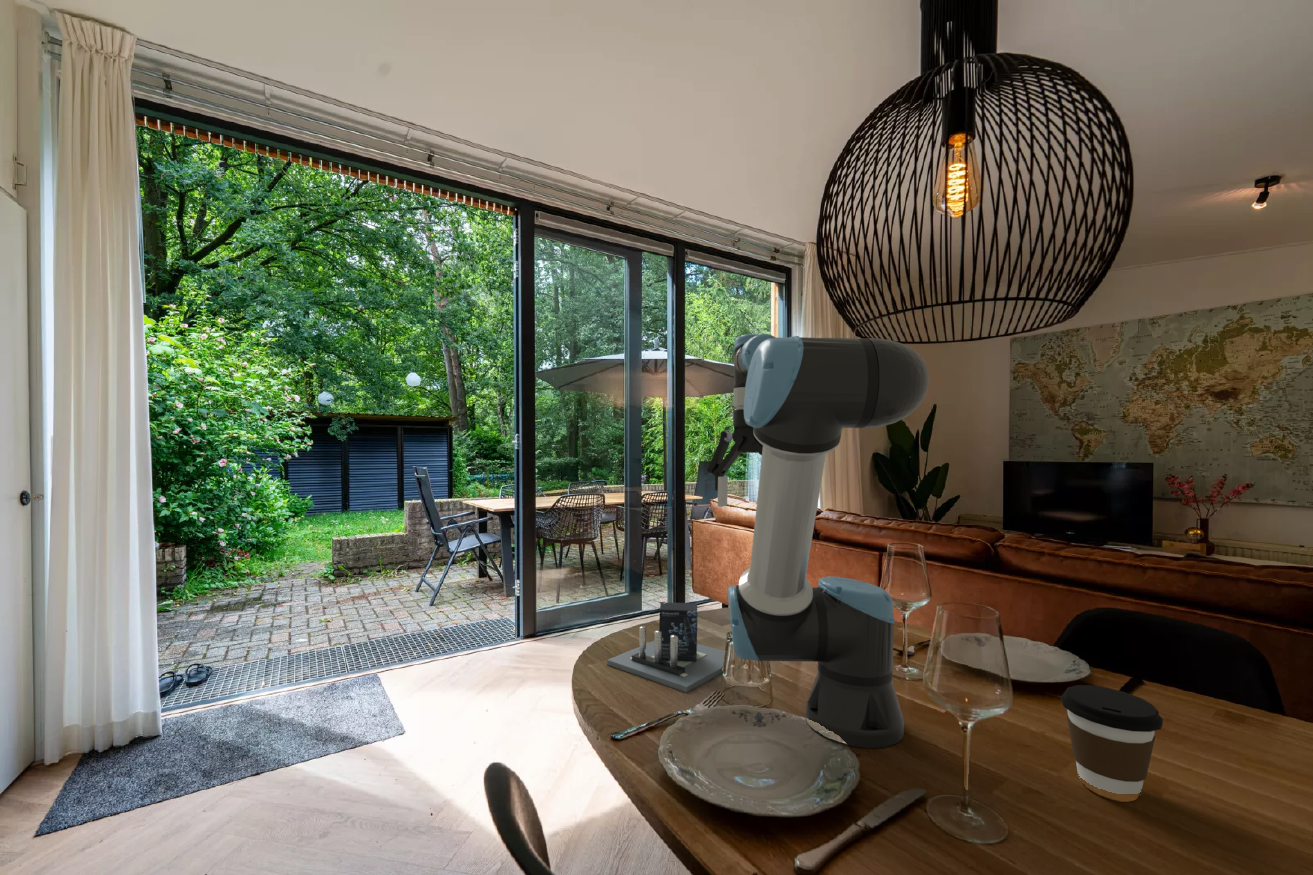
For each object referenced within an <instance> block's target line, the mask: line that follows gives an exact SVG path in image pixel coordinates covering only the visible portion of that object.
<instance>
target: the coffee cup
mask: <svg viewBox="0 0 1313 875" xmlns="http://www.w3.org/2000/svg"><path fill="white" fill-rule="evenodd" d="M1060 702H1061V704H1062V706H1063V708H1065V709H1066V711H1067V715H1066V716H1067V717H1066V719H1067V725H1068V732H1069V739H1070V743H1071V749H1072V754H1073V755H1072V756H1073V758H1074V760H1075V763H1076V770H1077V775H1078V774H1079V775H1078V777H1079V776H1080V777H1079V779H1080V778H1082V779H1083V780H1085V781H1086V782H1087V783H1089V784H1090V785H1093V786H1094V787H1097V788H1098V789H1103V790H1106V791H1108V792H1112V793H1116V794H1138V793H1140V792H1141V793H1142V791H1141V789H1143V785H1144V781H1145V780H1146V778H1147V776H1148V771H1149V767H1150V762H1151V758H1152V753H1153V749H1154V744H1155V739H1156V736H1155V732H1156V731H1159V730H1161V729H1162V727H1163V725H1164V719H1163V718H1162V716H1161V715H1160V714H1159V713H1160V711H1159V710H1158V709H1157V708H1156V707H1155V706H1154V705H1153V704H1152V703H1150V702H1148V701H1147V700H1145V699H1143V698H1141V697H1139V696H1138V695H1137V696H1136V695H1133V694H1131V693H1128V692H1125V691H1122V690H1119V689H1118V690H1117V689H1115V688H1110V687H1106V686H1105V687H1104V686H1098V685H1089V684H1088V685H1087V684H1086V685H1083V684H1080V685H1079V684H1077V685H1072V686H1068V687H1067V688H1066V689H1065V691H1064V692H1063V693H1062V695H1061V696H1060Z"/></svg>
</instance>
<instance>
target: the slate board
mask: <svg viewBox="0 0 1313 875" xmlns="http://www.w3.org/2000/svg"><path fill="white" fill-rule="evenodd" d="M654 644H655V639H654V640H652V641H650V642H646V656H650V657H653V658H654ZM725 652H726V651H725V650H722V649H718V648H714V647H710V646H706V645H703V644H699V643H697V660H696V662H693V661H677V665H678V666H681V667H684V668H685V673H683V674H681V675H680V676H677V675H674V674H671V673H668V672H665V671H662V670H659V669H656V668H653V667H650V666H647V665H644V664H641V663H638V662H635V661H632V655H634V654H637V653H639V646H637V647H635V648H632V649H630V650H627V651H625V652H623V653H620V654H618V655H616V656H613V657H611V658H608V659H607V662H606V665H607V666H609V667H613V668H616V669H618V670H621V671H624V672H627V673H630V674H633V675H634V676H635V675H636V676H639V677H641V678H645V679H647V680H650V681H654V682H656V683H659V684H662V685H665V686H667V687H671V688H673V689H676V690H679V691H682V692H685V693H688V692H690V691H691V690H693V689H695V688H697V687H699V686H700V685H702V684H704V683H706V682H708V681H710V680H711V679H713V678H715V677H717V676H718V675H721V674H722V673H723V672H722V668H723V662H724V655H725ZM662 661H665V662H668V663H670V660H662Z"/></svg>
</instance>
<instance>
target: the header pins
mask: <svg viewBox="0 0 1313 875" xmlns="http://www.w3.org/2000/svg"><path fill="white" fill-rule="evenodd" d="M638 628H639V631H638V633H639V635H638V637H639V640H638V647H639V653H637V654H634V655H632V661H635V662H638V663H641V664H644V665H647V666H650V667H653V668H656V669H659V670H662V671H665V672H668V673H671V674H674V675H677V676H680V675H681V674H683V673H685V668H684V667H681V666H678V665H677V656H678V635H671V644H670V663H668V662H665V661H662V660H661V646H662V631H660V630H659V629H657V630H656V629H655V630H654V640H655V644H654V658H653V657H650V656H646V644H647V626H645V625H640V626H639V627H638Z"/></svg>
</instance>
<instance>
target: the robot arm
mask: <svg viewBox="0 0 1313 875" xmlns="http://www.w3.org/2000/svg"><path fill="white" fill-rule="evenodd" d="M929 386H930V373H929V369H928V366H927V364H926V361H925V359H924V358H923V357H922V356H921V355H920V353H918V351H916V350H915V349H913V348H911V347H910V346H908V345H906V344H904V343H901V342H898V341H895V340H890V339H884V338H875V337H874V338H873V337H869V338H868V337H867V338H856V337H855V338H854V337H853V338H852V337H850V338H849V337H848V338H847V337H806V336H805V337H804V336H803V337H801V336H799V335H793V336H790V337H776V336H774V335H771V334H769V333H760V334H759V333H758V334H757V333H756V334H755V333H749V334H747V333H746V334H743V335H739V336H737V337H736V338H735V339H734V348H733V402H732V403H733V405H732V406H733V407H734V408H735V409H734V410H733V413H732V426H733V432H731V431H726V430H725V431H724V430H723V431H721V432H720V435H719V442H718V444H717V447H716V449H715V451H714V454H713V455H712V458H711V460H710V462H709V465H708V467H707V469H706V470H707V473H709V474H712V475H714V478H715V481H714V489H715V491H717V507H720V508H721V507H727V506H728V485H729V484H728V480H729V478H728V476H727V475H726V473H727V472H728V470H729V469H730V467H731V466H732V465H733V464H734V463H735V461H736V460H737V458H739V456H740V455H741V454H743V453H751V454H756V453H758V454H759V455H760V456H761V461H760V471H759V481H758V490H757V491H758V492H757V499H756V508H755V517H754V518H755V519H754V520H755V521H754V526H753V534H752V535H753V536H752V538H753V539H752V546H751V556H750V563H749V564H750V565H749V567H748V568H747V569H746V570H744V571H743V572H742V573H741V575H740V578H739V581H738V584H735V585H731V586H729V587H728V588H727V597H728V598H727V600H728V610H729V619H730V620H729V621H730V628H731V629H730V630H731V637H732V644H733V651H734V654H736V655H737V656H738V657H739V658H741V659H743V660H744V661H745V660H746V661H755V662H756V661H757V662H758V663H759V662H806V663H807V662H808V663H809V662H813V663H815V662H817V673H816V676H815V679H814V682H813V684H812V688H811V690H810V693H809V696H808V698H807V702H806V705H805V706H806V708H805V710H806V713H805V717H807V718H808V719H809V720H812V721H814V722H817V723H819V724H820V725H821V726H824V727H825V728H826V729H828V730H829V731H833V732H834V733H835V734H837V735H839V736H840V737H841V738H842V739H843V740H844V741H845V742H846V743H847V744H848V745H847V746H850V747H856V748H866V749H867V748H868V749H877V748H878V749H879V748H885V747H891V746H893V745H896V744H897V743H899V742H900V741H901V740H902V739H903V738H904V734H905V731H904V730H905V720H904V719H905V718H904V715H903V712H902V709H901V705H900V703H899V699H898V696H897V693H896V690H895V687H894V683H893V677H894V676H893V668H894V667H893V666H894V630H895V623H896V620H895V618H894V600H893V597H892V596H891V595H890V593H889V592H888V591H887V590H885V589H883V588H881V587H879V586H877V585H874V584H871V583H868V582H865V581H861V580H858V579H853V578H847V577H842V576H831V575H829V576H823V577H820V578H819V580H818V583H817V587H812V584H811V582H810V581H809V579H807V572H808V566H809V559H810V554H811V553H810V552H811V549H812V548H811V547H812V542H813V534H814V530H815V529H814V528H815V522H816V516H817V510H818V504H819V499H820V498H819V497H820V493H821V492H820V491H821V485H822V482H823V481H822V480H823V475H824V468H825V462H826V455H827V454H829V453H830V452H833V451H834V450H836V449H837V447H838V446H839V445H840V443H841V438H842V437H841V436H842V433H843V432H842V431H843V430H844V429H874V428H881V427H885V426H888V425H892V424H895V423H897V422H899V421H901V420H903V419H905V418H907V417H908V416H910V415H911V414H913V413H914V412H915V411H916V409H918V408H919V406H921V404H922V402H923V401H924V399H925V397H926V396H927V393H928V390H929ZM732 441H734V444H733V445H732V446H731V448H730V449H729V447H730V443H731V442H732ZM728 449H729V450H730V451H729V452H728V453H727V451H728ZM726 453H727V455H726ZM725 455H726V456H725Z"/></svg>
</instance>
